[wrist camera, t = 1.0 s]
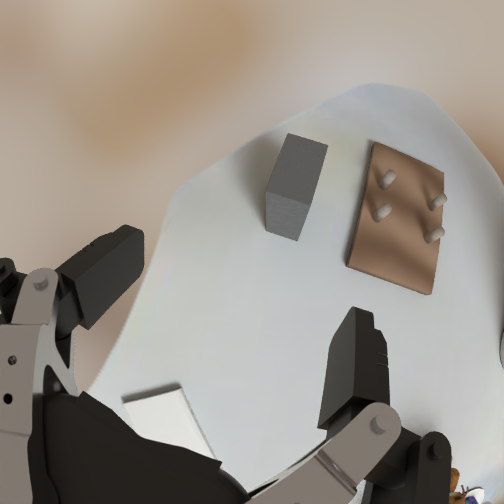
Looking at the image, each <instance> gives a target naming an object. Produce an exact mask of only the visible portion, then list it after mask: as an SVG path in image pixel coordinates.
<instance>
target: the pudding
mask: <svg viewBox="0 0 504 504" xmlns="http://www.w3.org/2000/svg"><path fill="white" fill-rule="evenodd" d="M469 496H474V497H472V498H470V497H469ZM466 497H467V498H466ZM483 498H484V490H483V489H480V488H479V489H475V490H472V491H470V492H468V493H467V495H466V496H465V504H481V503H482V501H483Z"/></svg>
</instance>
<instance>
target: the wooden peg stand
mask: <svg viewBox="0 0 504 504" xmlns="http://www.w3.org/2000/svg"><path fill="white" fill-rule="evenodd" d="M446 201H447V197H446V195H445V194H444V173H443V172H441V171H439V170H437V169H435V168H433V167H431V166H429V165H427V164H425V163H423V162H421V161H419V160H417V159H415V158H412V157H410V156H408V155H406V154H404V153H401V152H399V151H397V150H395V149H392V148H390V147H387V146H385V145H383V144H380V143H378V142H374V144H373V146H372V151H371V157H370V163H369V169H368V174H367V179H366V184H365V189H364V194H363V199H362V204H361V208H360V213H359V217H358V221H357V226H356V230H355V234H354V238H353V242H352V246H351V250H350V253H349V257H348V261H347V264H346V267H349V268H352V269H354V270H357V271H360V272H363V273H366V274H369V275H371V276H374V277H377V278H380V279H383V280H385V281H388V282H391V283H394V284H397V285H399V286H402V287H405V288H408V289H411V290H413V291H416V292H419V293H421V294H424V295H430V294H431V293H432V288H433V283H434V278H435V272H436V266H437V259H438V252H439V244H440V237H442V236H444V234H445V231H444V229H443V227H441V226H442V213H443V204H444V203H445V202H446Z"/></svg>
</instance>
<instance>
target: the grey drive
mask: <svg viewBox="0 0 504 504" xmlns="http://www.w3.org/2000/svg"><path fill="white" fill-rule="evenodd" d="M327 148H328V145H326V144H322V143H319V142H316V141H313V140H310V139H306V138H303V137H300V136H296V135H293V134H289V133H288V134H287V136H286V139H285V141H284V144H283V147H282V149H281V152H280V154H279V157H278V159H277V162H276V165H275V167H274V170H273V172H272V175H271V178H270V180H269V183H268V185H267V188H266V191H265V201H266V231H268V232H271V233H274V234H277V235H280V236H283V237H286V238H289V239H292V240H295V241H298V238H299V236H300V233H301V230H302V228H303V225H304V222H305V219H306V217H307V214H308V211H309V208H310V206H311V202H312V199H313V196H314V193H315V189H316V186H317V183H318V179H319V176H320V172H321V169H322V166H323V162H324V159H325V155H326V152H327Z"/></svg>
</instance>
